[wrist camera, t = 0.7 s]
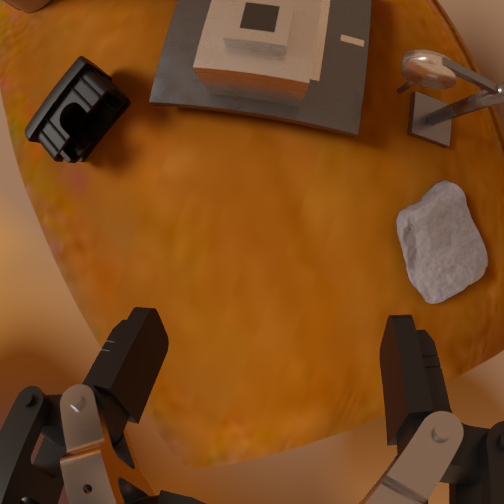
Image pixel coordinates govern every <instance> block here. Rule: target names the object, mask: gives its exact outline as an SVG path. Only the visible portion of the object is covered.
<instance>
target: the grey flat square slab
mask: <svg viewBox="0 0 504 504" xmlns="http://www.w3.org/2000/svg"><path fill="white" fill-rule="evenodd" d="M211 1H212V0H178V2H177V5H176V8H175V11H174V14H173V17H172V20H171V23H170V26H169V29H168V32H167V36H166V39H165V42H164V46H163V49H162V52H161V56H160V60H159V63H158V67H157V71H156V75H155V78H154V82H153V86H152V90H151V95H150V99H149V102H150V103H151V104H152V105H154V106H169V107H181V108H192V109H201V110H210V111H219V112H226V113H234V114H241V115H248V116H254V117H260V118H266V119H272V120H278V121H283V122H288V123H293V124H298V125H303V126H308V127H313V128H317V129H322V130H326V131H331V132H335V133H339V134H343V135H347V136H351V137H355V136H357V135H358V133H359V126H360V119H361V111H362V103H363V95H364V87H365V78H366V68H367V58H368V46H369V33H370V18H371V0H322V3H321V10H320V17H319V24H318V30H317V37H316V44H315V50H314V57H313V63H312V70H311V76H310V82H309V85H308V88H307V90H306V93H305V95H304V98H303V100H302V103H301V105H300V107H294V106H289V105H284V104H278V103H273V102H267V101H261V100H254V99H247V98H240V97H233V96H225V95H216V94H209V93H208V91H207V89H206V88H205V86H204V84H203V83H202V81H201V80H200V78H199V76H198V75H197V73H196V71H195V70H194V68H193V65H194V61H195V57H196V53H197V50H198V46H199V42H200V38H201V35H202V31H203V28H204V24H205V21H206V17H207V14H208V11H209V7H210V4H211Z"/></svg>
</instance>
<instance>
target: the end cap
mask: <svg viewBox="0 0 504 504" xmlns="http://www.w3.org/2000/svg"><path fill="white" fill-rule="evenodd" d="M111 80H112V78H111V77H110V76H108V75H107V74H106V73H105V72H104V71H102V70H101V69H100V68H99V67H97V66H96V65H95V64H94V63H92V62H91V61H89V60H88V59H86V58H85V57H83V56H80V57H79V58H78V59H77V60H76V61H75V62H74V63H73V65H72V66H71V67H70V68H69V69H68V71H67V72H66V73H65V74H64V75H63V77H62V78H61V79H60V81H59V82H58V83H57V84H56V86H55V87H54V88H53V90H52V91H51V92H50V94H49V95H48V96H47V98H46V99H45V100H44V102H43V103H42V105H41V106H40V108H39V109H38V110H37V112H36V113H35V115H34V116H33V118H32V119H31V121H30V122H29V124H28V125H27V127H26V129H25V135H26V137H27V139H28V140H29V141H31V142H38V143H41V144H42V146H43V147H44V148H45V149H46V151H47V152H48V153H49V154H50V155H51V157H52V158H53V159H54V160H55V161H56V162H59V161H60V162H62V161H63V159H64V158H65V159H66V161H67V162H68V163H76V162H77V161H80V162H83V161H84V160H85V159H86V158H87V157H88V155H89V154H90V153H91V151H92V150H93V149H94V147H95V146H96V145H97V144H98V142H99V141H100V140H101V139H102V137H103V136H104V135H105V134H106V132H107V131H108V130H109V129H110V128H111V126H112V125H113V124H114V123H115V122H116V120H117V119H118V118H119V117H120V116H121V115H122V113H123V112H124V111H125V110H126V109H127V108H128V107H129V105H130V100H129V99H128V98H127V97H126V96H125V95H124V94H123V93H122V92H121V91H120V90H119V89H118V88H117V87H116V86H114V85H113V84H112V83H111V82H110V81H111ZM60 154H61V155H62V156H63V157H64V158H63V157H62V156H61V155H60Z"/></svg>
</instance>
